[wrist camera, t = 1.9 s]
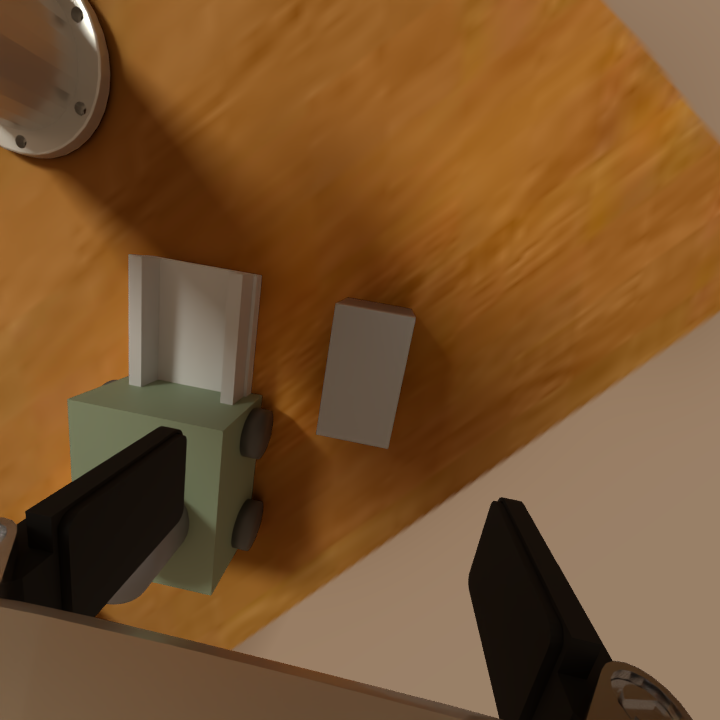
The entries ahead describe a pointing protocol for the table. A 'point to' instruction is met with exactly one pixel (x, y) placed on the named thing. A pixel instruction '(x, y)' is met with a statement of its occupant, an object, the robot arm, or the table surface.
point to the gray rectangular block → (364, 371)
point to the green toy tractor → (186, 412)
